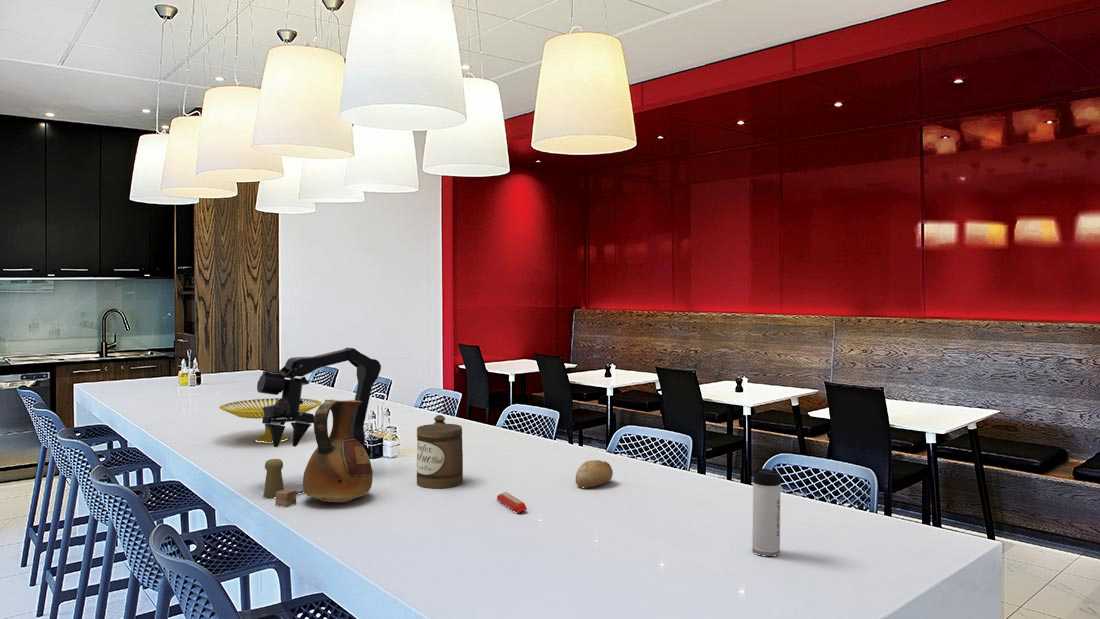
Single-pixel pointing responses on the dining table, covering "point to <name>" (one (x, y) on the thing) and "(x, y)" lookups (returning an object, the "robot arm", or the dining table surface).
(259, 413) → the cake stand
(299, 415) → the robot arm
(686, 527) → the dining table surface
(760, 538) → the travel mug
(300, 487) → the coaster
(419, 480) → the wooden container
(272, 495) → the cork
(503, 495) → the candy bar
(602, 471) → the bread roll
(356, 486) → the ceramic pitcher
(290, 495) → the walnut block
